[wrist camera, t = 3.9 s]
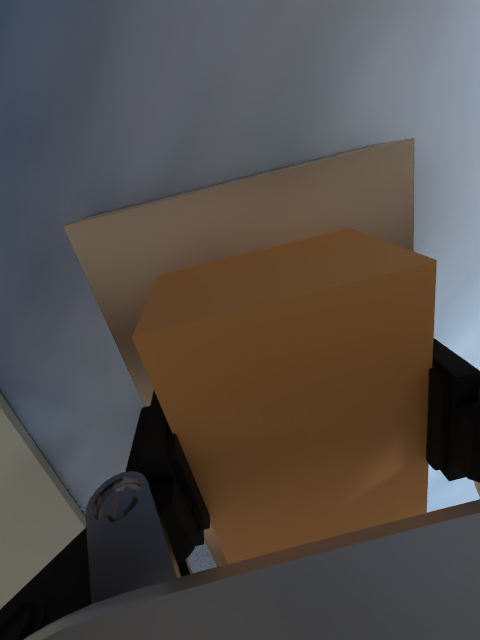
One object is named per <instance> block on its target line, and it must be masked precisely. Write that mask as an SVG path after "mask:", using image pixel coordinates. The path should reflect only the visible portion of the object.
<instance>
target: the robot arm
mask: <svg viewBox="0 0 480 640" xmlns="http://www.w3.org/2000/svg"><path fill="white" fill-rule="evenodd" d="M426 461H427V462H428V463H429V465H430V466H431V467H432V468H433V469H434V470H440V471H441V472H442V473H443V474H444V476H445V477H446V478H447V479H448V481H452V480H456V479H460V478H464V477H467V478H468V479H471V480H473V481H474V483H475V486H476V489H477V491H478V494H479V496H480V371H479V370H478V369H476V368H475V367H474V366H472V365H471V364H469V363H468V362H467V361H465V360H464V359H462V358H461V357H460V356H458V355H457V354H455V353H454V352H453V351H451V350H450V349H448V348H447V347H446V346H444V345H443V344H441V343H440V342H439V341H437V340H436V339H434V338H433V361H432V368H431V369H429V387H428V416H427V445H426ZM85 518H86V528H85V529H84V530H83V531H82V532H80V533H79V534H78V535H77V536H76V537H75V538H74V539H73V540H72V541H71V542H70V543H69V544H68V545H67V546H66V547H65V548H64V549H63V550H62V551H61V552H60V553H59V554H58V555H56V556H55V557H54V558H53V559H52V560H51V561H50V562H49V563H48V564H47V565H46V566H45V567H44V568H43V569H42V570H41V571H40V572H39V573H38V574H37V575H36V576H35V577H34V578H32V579H31V580H30V581H29V582H28V583H27V584H26V585H25V586H24V587H23V588H22V589H21V590H20V591H19V592H18V593H17V594H16V595H15V596H14V597H13V598H12V599H11V600H10V601H8V602H7V603H6V604H5V605H4V606H3V608H2V609H1V610H0V640H480V500H476V501H472V502H468V503H464V504H460V505H456V506H452V507H448V508H444V509H440V510H436V511H432V512H428V513H424V514H420V515H416V516H412V517H409V518H405V519H401V520H397V521H393V522H389V523H385V524H381V525H377V526H373V527H369V528H366V529H362V530H358V531H354V532H350V533H346V534H342V535H338V536H334V537H331V538H327V539H323V540H319V541H315V542H311V543H307V544H303V545H300V546H296V547H292V548H288V549H284V550H281V551H277V552H273V553H269V554H265V555H262V556H258V557H254V558H250V559H246V560H243V561H239V562H235V563H231V564H227V565H224V566H220V567H216V568H212V569H208V570H204V571H201V572H197V573H193V574H192V571H191V568H190V565H189V562H188V560H187V558H188V557H189V555H190V554H191V553H192V551H193V550H194V549H195V546H198V545H202V544H204V530H206V529H209V528H210V514H209V512H208V509H207V507H206V505H205V502H204V500H203V497H202V495H201V493H200V490H199V488H198V485H197V483H196V481H195V478H194V476H193V473H192V471H191V469H190V466H189V464H188V462H187V459H186V457H185V454H184V452H183V450H182V447H181V445H180V442H179V440H178V438H177V435H176V433H175V434H173V433H172V431H171V429H170V426H169V424H168V422H167V419H166V417H165V415H164V412H163V410H162V408H161V405H160V403H159V400H158V398H157V396H156V393H155V391H153V395H152V400H151V404H150V406H146V407H143V408H142V410H141V412H140V416H139V420H138V424H137V428H136V432H135V436H134V440H133V444H132V448H131V452H130V456H129V460H128V464H127V468H126V472H123V473H120V474H118V475H116V476H113V477H112V478H110V479H109V480H107V481H106V482H104V483H103V484H102V485H101V486H100V487H99V488H98V489H97V490H96V492H95V493H94V494H93V496H92V497H91V499H90V501H89V503H88V505H87V508H86V516H85Z"/></svg>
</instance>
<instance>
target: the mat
mask: <svg viewBox="0 0 480 640" xmlns="http://www.w3.org/2000/svg"><path fill="white" fill-rule="evenodd" d="M85 528H86V518H85V516H84V515H83V513H82V512H81V510H80V509H79V507H78V506H77V504H76V503H75V501H74V500H73V498H72V497H71V496H70V494H69V493H68V491H67V490H66V488H65V487H64V485H63V484H62V482H61V481H60V479H59V478H58V477H57V475H56V474H55V472H54V471H53V469H52V468H51V466H50V465H49V463H48V462H47V461H46V459H45V458H44V456H43V455H42V453H41V452H40V450H39V449H38V447H37V446H36V444H35V443H34V442H33V440H32V439H31V437H30V436H29V434H28V433H27V431H26V430H25V428H24V427H23V426H22V424H21V423H20V421H19V420H18V418H17V417H16V415H15V414H14V412H13V411H12V409H11V408H10V407H9V405H8V404H7V402H6V401H5V399H4V398H3V396H2V395H1V393H0V606H4V605H5V604H6V603H7V602H8V601H10V600H11V599H12V598H13V597H14V596H15V595H16V594H17V593H18V592H19V591H20V590H21V589H22V588H23V587H24V586H25V585H26V584H27V583H28V582H29V581H30V580H31V579H32V578H34V577H35V576H36V575H37V574H38V573H39V572H40V571H41V570H42V569H43V568H44V567H45V566H46V565H47V564H48V563H49V562H50V561H51V560H52V559H53V558H54V557H55V556H56V555H58V554H59V553H60V552H61V551H62V550H63V549H64V548H65V547H66V546H67V545H68V544H69V543H70V542H71V541H72V540H73V539H74V538H75V537H76V536H77V535H78V534H79V533H80V532H82V531H83V530H84V529H85Z"/></svg>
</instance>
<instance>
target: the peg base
mask: <svg viewBox="0 0 480 640" xmlns="http://www.w3.org/2000/svg"><path fill="white" fill-rule="evenodd" d="M63 227H64V229H65V232H66V234H67V236H68V238H69V240H70V243H71V245H72V247H73V249H74V251H75V254H76V256H77V258H78V260H79V263H80V265H81V267H82V269H83V271H84V274H85V276H86V278H87V280H88V282H89V285H90V287H91V289H92V291H93V293H94V296H95V298H96V300H97V302H98V304H99V307H100V309H101V311H102V313H103V316H104V318H105V320H106V322H107V324H108V327H109V329H110V331H111V333H112V335H113V338H114V340H115V342H116V344H117V346H118V349H119V351H120V353H121V355H122V357H123V360H124V362H125V364H126V366H127V369H128V371H129V373H130V375H131V377H132V380H133V382H134V384H135V386H136V388H137V391H138V393H139V395H140V397H141V399H142V402H143V404H144V406H145V407H146V406H150V404H151V400H152V395H153V391H154V389H153V386H152V384H151V382H150V379H149V377H148V375H147V372H146V370H145V367H144V365H143V363H142V360H141V358H140V356H139V353H138V351H137V349H136V346H135V344H134V342H133V339H132V335H133V333H134V331H135V328H136V326H137V324H138V321H139V319H140V317H141V314H142V312H143V309H144V307H145V305H146V302H147V300H148V298H149V295H150V293H151V290H152V288H153V286H154V283H155V281H156V279H157V276H161V275H165V274H169V273H173V272H177V271H181V270H185V269H189V268H193V267H197V266H201V265H204V264H208V263H212V262H216V261H220V260H224V259H228V258H232V257H236V256H240V255H244V254H248V253H252V252H256V251H260V250H264V249H268V248H272V247H276V246H280V245H284V244H288V243H292V242H296V241H300V240H303V239H307V238H311V237H315V236H319V235H323V234H327V233H331V232H335V231H339V230H343V229H347V228H352V229H354V230H357V231H360V232H362V233H365V234H368V235H370V236H373V237H376V238H378V239H381V240H384V241H386V242H389V243H392V244H394V245H397V246H400V247H402V248H405V249H408V250H410V251H413V237H414V138H411V139H405V140H398V141H392V142H386V143H380V144H375V145H371V146H367V147H363V148H360V149H356V150H352V151H348V152H344V153H340V154H336V155H332V156H328V157H324V158H320V159H316V160H312V161H308V162H304V163H300V164H296V165H292V166H288V167H284V168H280V169H276V170H272V171H268V172H264V173H260V174H256V175H252V176H248V177H244V178H240V179H236V180H232V181H228V182H224V183H220V184H216V185H212V186H208V187H204V188H201V189H197V190H193V191H189V192H185V193H181V194H177V195H173V196H169V197H165V198H161V199H157V200H153V201H149V202H145V203H141V204H137V205H133V206H129V207H125V208H121V209H117V210H113V211H109V212H105V213H101V214H97V215H93V216H89V217H86V218H83V219H81V220H78V221H75V222H73V223H70V224H68V225H65V226H63ZM204 539H205V541H206V543H207V545H208V547H209V550H210V552H211V554H212V556H213V558H214V561H215V563H216V565H217V567H220V566H224V565H227V564H228V563H227V561H226V558H225V556H224V554H223V551H222V549H221V547H220V544H219V542H218V539H217V537H216V535H215V532H214V530H213V528H212V525H211V523H210V528H209V529H206V530H204Z"/></svg>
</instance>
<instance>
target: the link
mask: <svg viewBox="0 0 480 640" xmlns="http://www.w3.org/2000/svg"><path fill="white" fill-rule="evenodd" d="M435 285H436V260H435V259H432V258H429V257H427V256H424V255H421V254H418V253H416V252H413V251H410V250H408V249H405V248H402V247H400V246H397V245H394V244H392V243H389V242H386V241H384V240H381V239H378V238H376V237H373V236H370V235H368V234H365V233H362V232H360V231H357V230H354V229H352V228H347V229H343V230H339V231H335V232H331V233H327V234H323V235H319V236H315V237H311V238H307V239H303V240H300V241H296V242H292V243H288V244H284V245H280V246H276V247H272V248H268V249H264V250H260V251H256V252H252V253H248V254H244V255H240V256H236V257H232V258H228V259H224V260H220V261H216V262H212V263H208V264H204V265H201V266H197V267H193V268H189V269H185V270H181V271H177V272H173V273H169V274H165V275H161V276H157V279H156V281H155V283H154V286H153V288H152V290H151V293H150V295H149V298H148V300H147V302H146V305H145V307H144V309H143V312H142V314H141V317H140V319H139V321H138V324H137V326H136V328H135V331H134V333H133V335H132V339H133V342H134V344H135V346H136V349H137V351H138V353H139V356H140V358H141V360H142V363H143V365H144V367H145V370H146V372H147V375H148V377H149V379H150V382H151V384H152V386H153V389H154V391H155V393H156V396H157V398H158V400H159V403H160V405H161V408H162V410H163V412H164V415H165V417H166V419H167V422H168V424H169V426H170V429H171V431H172V433H173V434H175V433H176V435H177V438H178V440H179V442H180V445H181V447H182V450H183V452H184V454H185V457H186V459H187V462H188V464H189V466H190V469H191V471H192V473H193V476H194V478H195V481H196V483H197V485H198V488H199V490H200V493H201V495H202V497H203V500H204V502H205V505H206V507H207V509H208V512H209V514H210V523H211V525H212V528H213V530H214V532H215V535H216V537H217V539H218V542H219V544H220V547H221V549H222V551H223V554H224V556H225V558H226V561H227V563H228V564H231V563H235V562H239V561H243V560H246V559H250V558H254V557H258V556H262V555H265V554H269V553H273V552H277V551H281V550H284V549H288V548H292V547H296V546H300V545H303V544H307V543H311V542H315V541H319V540H323V539H327V538H331V537H334V536H338V535H342V534H346V533H350V532H354V531H358V530H362V529H366V528H369V527H373V526H377V525H381V524H385V523H389V522H393V521H397V520H401V519H405V518H409V517H412V516H416V515H420V514H424V513H427V488H428V462H427V461H426V445H427V416H428V387H429V369H431V368H432V361H433V336H434V310H435Z"/></svg>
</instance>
